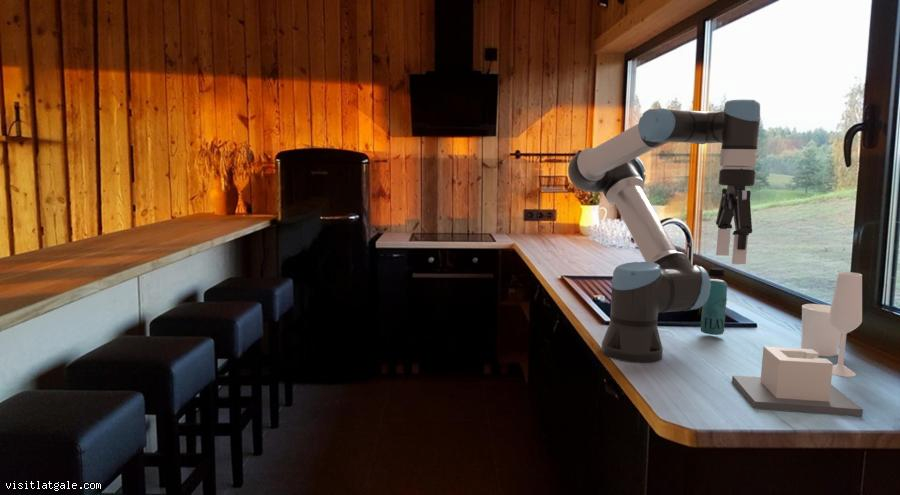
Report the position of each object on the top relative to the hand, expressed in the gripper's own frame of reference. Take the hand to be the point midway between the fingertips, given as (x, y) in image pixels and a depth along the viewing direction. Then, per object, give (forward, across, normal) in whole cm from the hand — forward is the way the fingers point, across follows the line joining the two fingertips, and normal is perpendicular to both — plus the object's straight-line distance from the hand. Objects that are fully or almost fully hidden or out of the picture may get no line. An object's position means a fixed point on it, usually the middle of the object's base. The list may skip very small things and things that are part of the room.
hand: (730, 259), depth 148 cm
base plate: (+27, -17, -10) cm, 33 cm away
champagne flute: (+27, +4, -28) cm, 39 cm away
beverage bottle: (+27, +30, -5) cm, 41 cm away
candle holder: (+27, +21, -30) cm, 45 cm away
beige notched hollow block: (+25, -17, -10) cm, 32 cm away
